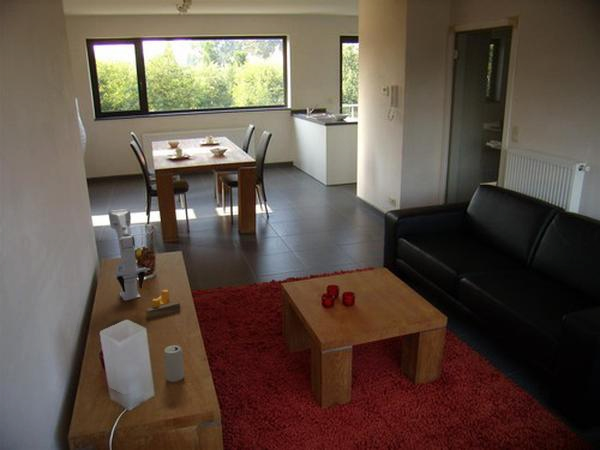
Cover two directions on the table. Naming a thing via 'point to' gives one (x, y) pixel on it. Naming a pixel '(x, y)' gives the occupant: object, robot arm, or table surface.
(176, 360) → the beverage can
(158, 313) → the bar
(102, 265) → the table surface
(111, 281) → the table surface
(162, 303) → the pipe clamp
